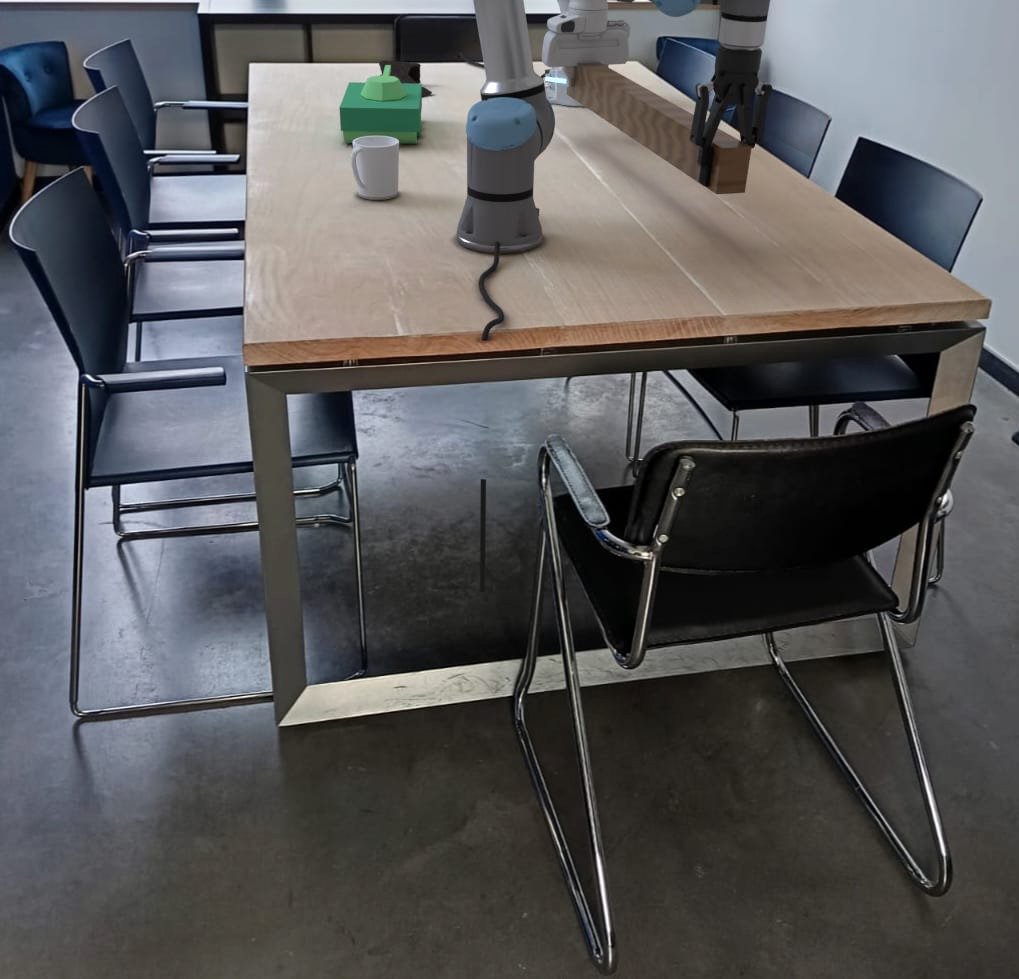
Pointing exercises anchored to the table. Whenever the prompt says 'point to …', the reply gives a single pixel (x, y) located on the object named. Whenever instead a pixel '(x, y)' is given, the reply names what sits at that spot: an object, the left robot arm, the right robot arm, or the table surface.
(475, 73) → the table surface
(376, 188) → the mug
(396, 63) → the axe head
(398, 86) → the green tank
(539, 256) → the table surface
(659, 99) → the bar
